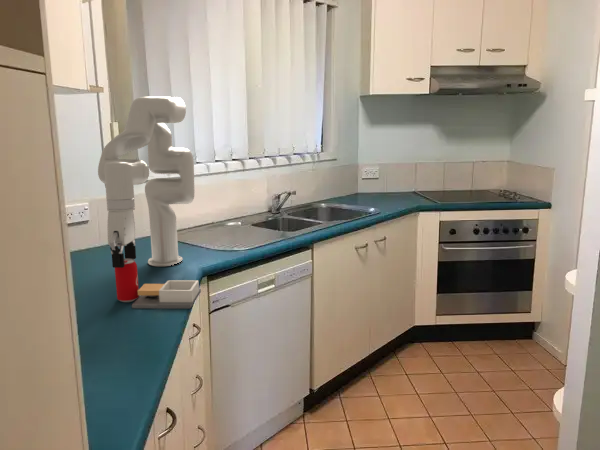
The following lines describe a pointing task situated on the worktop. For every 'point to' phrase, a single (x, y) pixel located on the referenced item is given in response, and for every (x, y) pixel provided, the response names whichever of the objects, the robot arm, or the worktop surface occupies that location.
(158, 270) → the worktop surface
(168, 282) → the grey tray with holder
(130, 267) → the beverage can
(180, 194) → the robot arm
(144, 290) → the tan flat square block
